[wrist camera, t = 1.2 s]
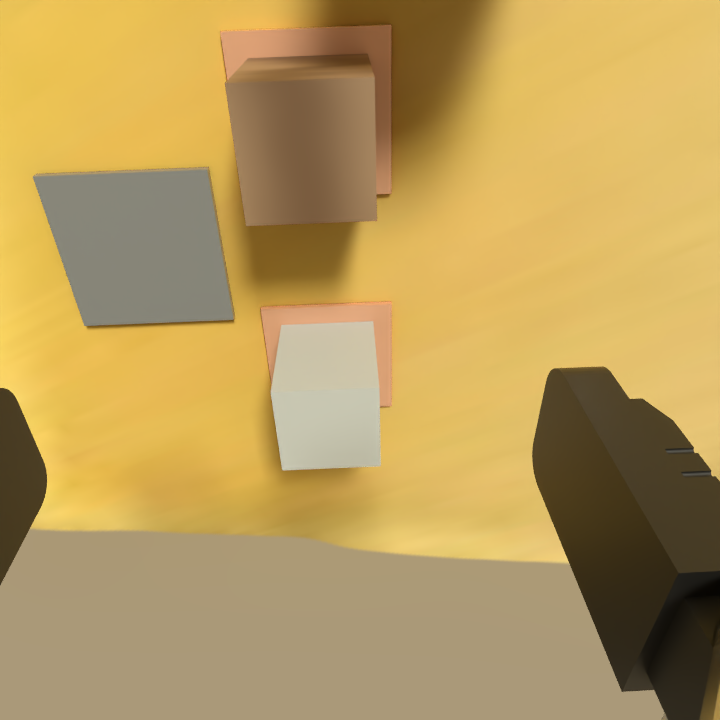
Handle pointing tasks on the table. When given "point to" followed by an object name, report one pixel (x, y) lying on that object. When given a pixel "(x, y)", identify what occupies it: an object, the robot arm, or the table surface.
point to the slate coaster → (139, 244)
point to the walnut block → (305, 138)
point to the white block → (327, 396)
